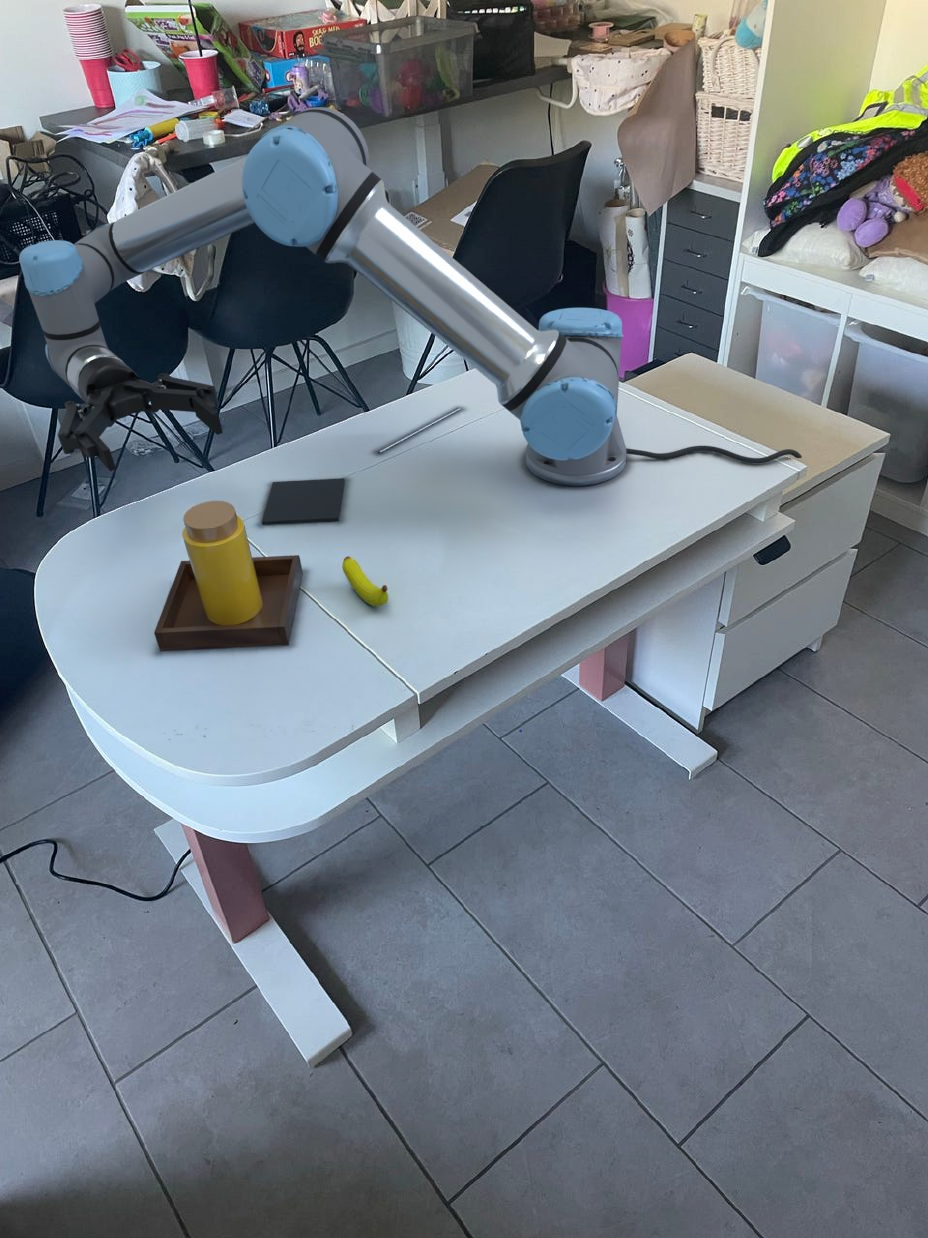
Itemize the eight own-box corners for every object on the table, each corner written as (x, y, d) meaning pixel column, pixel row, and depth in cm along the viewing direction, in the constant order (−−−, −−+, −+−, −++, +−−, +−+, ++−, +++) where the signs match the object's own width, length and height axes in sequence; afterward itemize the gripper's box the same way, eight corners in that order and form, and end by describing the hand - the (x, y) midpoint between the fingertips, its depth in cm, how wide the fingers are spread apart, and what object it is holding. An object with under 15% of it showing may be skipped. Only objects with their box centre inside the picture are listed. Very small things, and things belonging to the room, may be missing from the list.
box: (303, 573, 121) (299, 554, 119) (288, 645, 109) (284, 626, 107) (186, 579, 121) (180, 560, 119) (160, 651, 110) (153, 632, 108)
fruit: (397, 615, 113) (393, 583, 110) (382, 622, 112) (378, 590, 109) (356, 577, 119) (351, 546, 116) (342, 583, 118) (336, 552, 115)
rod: (461, 411, 155) (461, 407, 155) (380, 455, 145) (380, 451, 144) (458, 409, 156) (458, 406, 155) (377, 453, 145) (377, 449, 145)
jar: (266, 588, 118) (245, 496, 109) (258, 624, 112) (234, 529, 103) (211, 591, 118) (185, 499, 109) (200, 627, 112) (171, 533, 103)
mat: (345, 481, 138) (344, 477, 138) (338, 521, 130) (338, 517, 130) (273, 485, 139) (272, 481, 138) (262, 525, 130) (261, 521, 130)
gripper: (198, 382, 130) (264, 436, 116) (21, 438, 119) (71, 504, 106) (185, 331, 125) (253, 381, 112) (0, 384, 114) (50, 447, 101)
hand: (165, 441), depth 109 cm, fingers open, 13 cm apart
